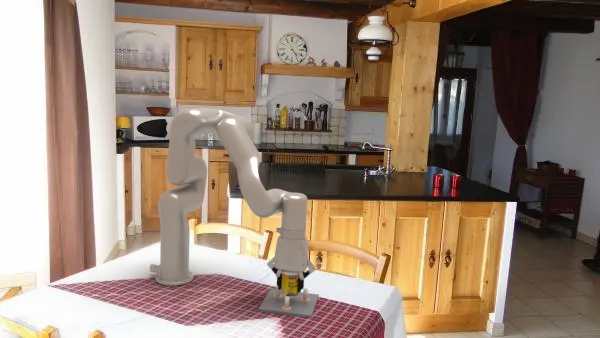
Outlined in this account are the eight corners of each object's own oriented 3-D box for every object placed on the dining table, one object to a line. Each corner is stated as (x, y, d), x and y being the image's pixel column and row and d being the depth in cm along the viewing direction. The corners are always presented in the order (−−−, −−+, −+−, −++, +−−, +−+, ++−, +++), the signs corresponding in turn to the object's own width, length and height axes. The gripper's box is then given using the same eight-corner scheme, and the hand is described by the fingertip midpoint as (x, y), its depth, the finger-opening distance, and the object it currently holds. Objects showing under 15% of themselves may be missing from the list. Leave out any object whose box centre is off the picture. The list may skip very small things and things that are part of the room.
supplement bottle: (286, 300, 151) (288, 267, 150) (277, 293, 156) (279, 262, 154) (302, 296, 154) (303, 265, 153) (292, 290, 159) (294, 259, 158)
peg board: (258, 311, 149) (259, 297, 149) (270, 291, 165) (271, 278, 164) (311, 317, 146) (311, 304, 146) (318, 296, 162) (319, 284, 161)
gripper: (262, 233, 150) (260, 290, 153) (319, 239, 147) (315, 297, 150) (268, 227, 157) (266, 281, 160) (322, 233, 154) (318, 288, 157)
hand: (289, 288), depth 155 cm, fingers closed on supplement bottle, 5 cm apart
